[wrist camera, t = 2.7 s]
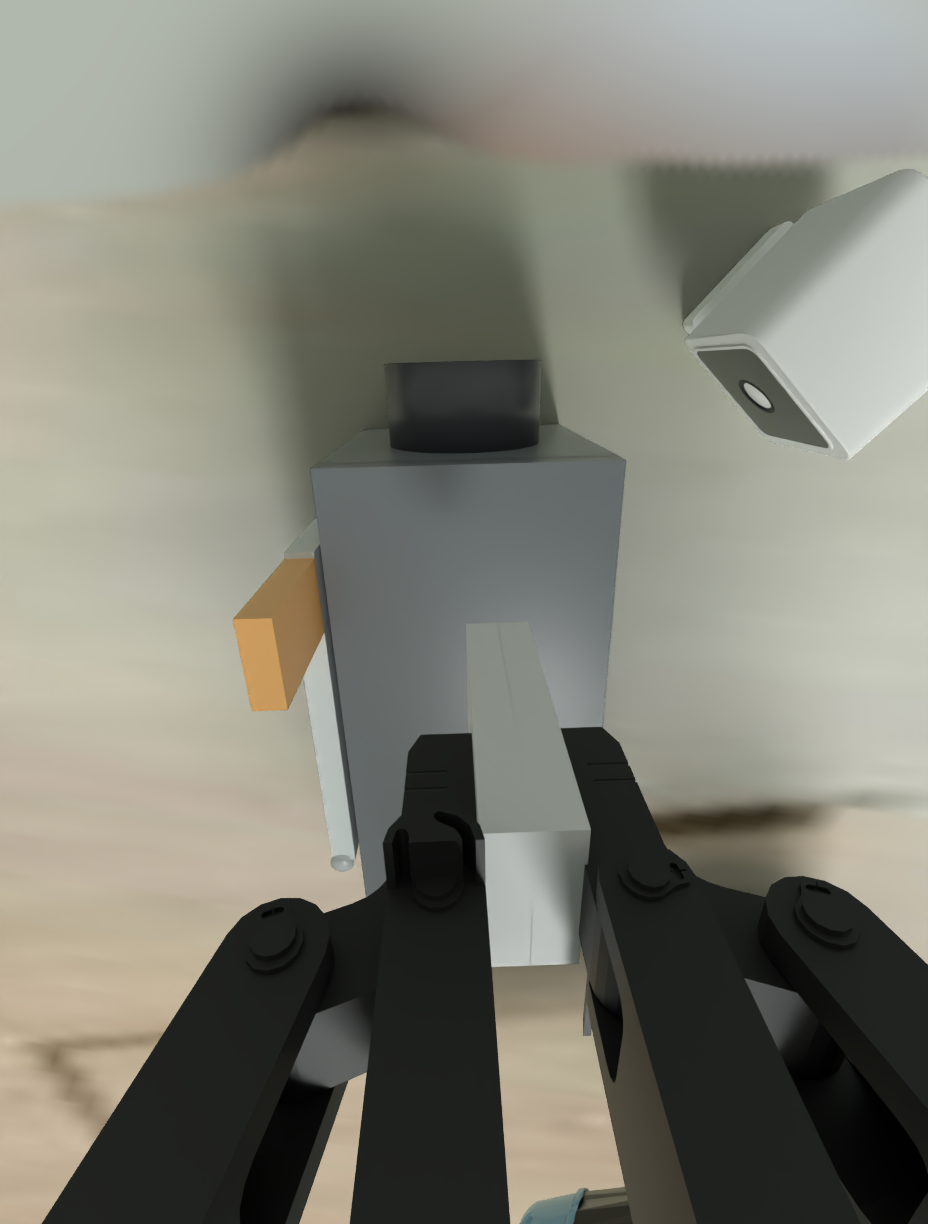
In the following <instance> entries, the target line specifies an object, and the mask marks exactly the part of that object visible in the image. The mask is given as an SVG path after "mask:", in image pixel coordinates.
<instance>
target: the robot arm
mask: <svg viewBox="0 0 928 1224" xmlns="http://www.w3.org/2000/svg"><path fill="white" fill-rule="evenodd" d="M466 647H467V687H468V723H469V733H455V734H426V735H420V736H419V738H418V739H417V740H416V742H415V743H414V745H413V746H412V747H411V749H410V750H409V751H408V758H407V767H406V777H405V787H404V796H403V806H402V815H401V816H400V817H399V818H398V819H397V820H396V821H395V822H394V823H393V824H392V825H391V826H390V827H389V828H388V830H387V833H386V836H385V838H384V841H383V843H382V844H383V853H384V862H385V871H386V881H385V882H384V883H383V884H382V885H381V886H380V888H379V889H377V890H376V891H374V892H373V893H372V894H370V895H369V896H367V897H366V898H364V899H361V900H359V901H357V902H355V903H353V904H350V905H347V906H344V907H341V908H338V909H335V910H332V911H329V912H326V913H323V912H322V911H321V910H320V909H319V907H318V906H317V905H316V904H313V903H311V902H309V901H306V900H304V899H301V898H280V899H277V900H274V901H271V902H268V903H265V904H262V905H260V906H258V907H257V908H255V909H254V910H252V911H251V912H249V913H248V914H246V915H245V916H243V917H242V918H241V919H240V920H239V921H238V922H237V924H236V925H235V926H234V927H233V928H232V929H231V930H230V932H229V933H228V934H227V935H226V937H225V938H224V940H223V942H222V943H221V945H220V946H219V948H218V949H217V951H216V953H215V954H214V956H213V957H212V959H211V960H210V962H209V963H208V965H207V967H206V968H205V970H204V971H203V973H202V974H201V976H200V977H199V979H198V981H197V982H196V984H195V985H194V987H193V988H192V990H191V992H190V993H189V995H188V996H187V998H186V999H185V1001H184V1002H183V1004H182V1006H181V1007H180V1009H179V1010H178V1012H177V1013H176V1015H175V1017H174V1018H173V1020H172V1021H171V1023H170V1024H169V1026H168V1027H167V1029H166V1031H165V1032H164V1034H163V1035H162V1037H161V1038H160V1040H159V1041H158V1043H157V1045H156V1046H155V1048H154V1049H153V1051H152V1052H151V1054H150V1056H149V1057H148V1059H147V1060H146V1062H145V1063H144V1065H143V1066H142V1068H141V1070H140V1071H139V1073H138V1074H137V1076H136V1077H135V1079H134V1081H133V1082H132V1084H131V1085H130V1087H129V1088H128V1090H127V1091H126V1093H125V1095H124V1096H123V1098H122V1099H121V1101H120V1102H119V1104H118V1105H117V1107H116V1109H115V1110H114V1112H113V1113H112V1115H111V1116H110V1118H109V1120H108V1121H107V1123H106V1124H105V1126H104V1127H103V1129H102V1130H101V1132H100V1134H99V1135H98V1137H97V1138H96V1140H95V1141H94V1143H93V1145H92V1146H91V1148H90V1149H89V1151H88V1152H87V1154H86V1155H85V1157H84V1159H83V1160H82V1162H81V1163H80V1165H79V1166H78V1168H77V1169H76V1171H75V1173H74V1174H73V1176H72V1177H71V1179H70V1180H69V1182H68V1184H67V1185H66V1187H65V1188H64V1190H63V1191H62V1193H61V1194H60V1196H59V1198H58V1199H57V1201H56V1202H55V1204H54V1205H53V1207H52V1209H51V1210H50V1212H49V1213H48V1215H47V1216H46V1218H45V1219H44V1221H43V1223H42V1224H299V1222H300V1219H301V1217H302V1214H303V1211H304V1208H305V1205H306V1202H307V1199H308V1196H309V1193H310V1190H311V1187H312V1185H313V1182H314V1179H315V1176H316V1173H317V1170H318V1167H319V1164H320V1161H321V1158H322V1156H323V1153H324V1150H325V1147H326V1144H327V1141H328V1138H329V1135H330V1132H331V1129H332V1127H333V1124H334V1121H335V1118H336V1115H337V1112H338V1109H339V1106H340V1103H341V1100H342V1097H343V1095H344V1092H345V1089H346V1086H347V1083H348V1080H350V1079H352V1078H354V1077H357V1076H359V1075H361V1074H364V1073H366V1072H367V1076H366V1085H365V1093H364V1102H363V1111H362V1120H361V1129H360V1138H359V1147H358V1155H357V1164H356V1173H355V1182H354V1191H353V1200H352V1209H351V1217H350V1224H510V1215H509V1201H508V1187H507V1173H506V1159H505V1146H504V1132H503V1118H502V1104H501V1091H500V1077H499V1063H498V1049H497V1036H496V1022H495V1008H494V994H493V980H492V967H508V966H534V965H559V964H579V957H580V946H582V951H583V955H584V960H585V964H586V969H587V973H588V974H587V984H586V994H585V1004H584V1014H583V1036H591V1029H592V1032H593V1036H594V1041H595V1046H596V1051H597V1055H598V1060H599V1065H600V1070H601V1074H602V1079H603V1084H604V1089H605V1093H606V1098H607V1103H608V1108H609V1112H610V1117H611V1122H612V1127H613V1131H614V1136H615V1141H616V1146H617V1150H618V1155H619V1160H620V1165H621V1169H622V1174H623V1179H624V1184H625V1187H620V1188H612V1189H604V1190H594V1191H589V1189H588V1188H581V1189H579V1190H578V1191H577V1192H576V1193H574V1194H569V1195H565V1196H560V1197H556V1198H551V1199H547V1200H542V1201H538V1202H536V1203H535V1204H533V1205H532V1206H531V1207H530V1208H529V1209H528V1210H527V1211H526V1212H525V1214H524V1216H523V1218H522V1220H521V1222H520V1224H928V965H927V964H926V963H925V962H924V961H923V960H922V959H921V958H920V957H919V956H918V955H917V954H916V953H915V952H914V951H913V950H912V949H911V948H910V947H909V946H908V945H907V944H905V943H904V942H903V941H902V940H901V939H900V938H899V937H898V936H897V935H896V934H895V933H894V932H893V931H892V930H891V929H890V928H889V927H888V926H887V925H886V924H885V923H884V922H882V921H881V920H880V919H879V918H878V917H877V916H876V915H875V914H874V913H873V912H872V911H871V910H870V909H869V908H868V907H867V906H865V905H864V904H863V903H861V902H860V901H859V900H857V899H856V898H855V897H854V896H852V895H851V894H850V893H848V892H847V891H845V890H843V889H840V888H838V887H836V886H834V885H832V884H830V883H828V882H826V881H822V880H818V879H814V878H809V877H805V876H798V877H784V878H783V879H781V880H779V881H777V882H776V883H774V884H772V885H771V887H770V889H769V891H768V893H767V896H766V897H762V896H758V895H754V894H749V893H745V892H741V891H737V890H732V889H728V888H724V887H721V886H718V885H715V884H712V883H709V882H707V881H705V880H703V879H701V878H699V877H697V876H695V874H694V873H693V871H692V870H691V869H690V867H689V866H688V864H687V863H686V862H685V861H684V860H682V859H681V858H680V857H678V856H677V855H676V854H674V853H673V852H672V851H671V850H668V849H667V848H666V846H665V845H664V843H663V840H662V838H661V836H660V834H659V831H658V829H657V827H656V825H655V822H654V820H653V818H652V816H651V813H650V811H649V809H648V807H647V804H646V802H645V800H644V798H643V795H642V793H641V791H640V788H639V786H638V784H637V782H635V777H634V775H633V773H632V770H631V768H630V766H628V761H627V759H626V757H625V755H624V752H623V750H622V748H621V746H620V743H619V742H618V741H617V740H616V739H614V738H613V737H612V736H611V735H610V734H609V733H608V732H607V731H606V730H604V729H603V728H602V727H578V728H560V725H559V722H558V719H557V715H556V712H555V709H554V705H553V702H552V699H551V695H550V692H549V689H548V686H547V682H546V679H545V676H544V672H543V669H542V666H541V662H540V659H539V656H538V652H537V649H536V646H535V642H534V639H533V636H532V632H531V629H530V626H529V622H505V623H473V624H466Z"/></svg>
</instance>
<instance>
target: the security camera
mask: <svg viewBox="0 0 928 1224" xmlns="http://www.w3.org/2000/svg"><path fill="white" fill-rule="evenodd" d="M683 327H684V329H685V330H686V331H687V333H688V334H689V335H688V336H687V337H686V339H685V344H686V346H687V348H688V349H689V351H690V352H691V353H692V354H693V356H694V357H695V358H696V359H697V360H698V361H699V363H700V364H701V365H702V366H703V367H704V369H705V370H706V371H707V372H708V373H709V374H710V376H711V377H712V378H713V379H714V380H715V381H716V383H717V384H718V385H719V386H720V387H721V389H722V390H723V391H724V392H725V393H726V394H727V396H728V397H729V398H730V399H731V400H732V402H733V403H734V404H735V405H736V406H737V407H738V409H739V410H740V411H741V412H742V413H743V414H744V416H745V417H746V418H747V419H748V420H749V422H750V423H751V424H752V425H753V426H754V427H755V429H756V430H757V431H758V432H759V433H760V434H761V435H762V436H763V437H765V438H766V439H767V440H769V441H771V442H773V443H775V444H779V445H783V446H788V447H792V448H796V449H800V450H804V451H808V452H812V453H816V454H821V455H825V456H829V457H833V458H837V459H841V460H849V459H850V458H851V457H853V456H854V455H855V454H856V453H857V452H858V451H859V450H861V449H862V448H863V447H864V446H865V445H866V444H867V443H868V442H870V441H871V440H872V439H873V438H874V437H875V436H876V435H878V434H879V433H880V432H881V431H882V430H883V429H884V428H886V427H887V426H888V425H889V424H890V423H891V422H892V421H893V420H895V419H896V418H897V417H898V416H899V415H900V414H901V413H903V412H904V411H905V410H906V409H907V408H908V407H909V406H910V405H912V404H913V403H914V402H915V401H916V400H917V399H918V398H920V397H921V396H922V395H923V394H924V393H925V392H926V391H927V390H928V178H927V177H926V176H925V175H924V174H922V173H921V172H919V171H916V170H914V169H902V170H899V171H896V172H894V173H892V174H889V175H887V176H885V177H883V178H880V179H878V180H876V181H873V182H871V183H869V184H866V185H864V186H862V187H859V188H857V189H855V190H853V191H850V192H848V193H846V194H843V195H841V196H839V197H836V198H834V199H832V200H829V201H827V202H825V203H823V204H820V205H818V206H816V207H813V208H811V209H809V210H808V211H806V212H805V213H804V214H803V215H802V216H801V217H800V219H799V220H798V221H797V222H796V223H795V224H793V223H792V222H791V221H787V222H784V223H782V224H780V225H777V226H775V227H773V228H770V229H769V230H768V231H767V232H766V233H765V234H764V235H763V237H762V238H761V239H760V240H759V241H758V242H757V243H756V244H755V245H754V246H753V247H752V248H751V249H750V250H749V251H748V253H747V254H746V255H745V256H744V257H743V258H742V259H741V260H740V261H739V262H738V263H737V264H736V265H735V266H734V267H733V269H732V270H731V271H730V272H729V273H728V274H727V275H726V276H725V277H724V278H723V279H722V280H721V281H720V282H719V283H718V284H717V286H716V287H715V288H714V289H713V290H712V291H711V292H710V293H709V294H708V295H707V296H706V297H705V298H704V299H703V300H702V302H701V303H700V304H699V305H698V306H697V307H696V308H695V309H694V310H693V311H692V312H691V313H690V314H689V315H688V316H687V317H686V319H685V320H684V322H683Z"/></svg>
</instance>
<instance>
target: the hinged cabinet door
mask: <svg viewBox="0 0 928 1224" xmlns="http://www.w3.org/2000/svg"><path fill="white" fill-rule="evenodd" d="M284 557H285V559H284V560H283V562H282V563H281V564H280V565H279V566H278V567H277V569H276V570H275V571H274V572H273V573H272V574H271V576H270V577H269V578H268V579H267V580H266V581H265V583H264V584H263V585H262V586H261V587H260V588H259V589H258V591H257V592H256V593H255V594H254V595H253V596H252V598H251V599H250V600H249V601H248V602H247V603H246V605H245V606H244V607H243V608H242V609H241V610H240V612H239V613H238V614H237V615H236V616H235V617H234V619H233V623H234V628H235V633H236V637H237V642H238V647H239V652H240V657H241V662H242V667H243V671H244V676H245V681H246V686H247V691H248V696H249V701H250V705H251V710H252V711H270V710H288V708H289V706H290V704H291V702H292V700H293V698H294V696H295V693H296V691H297V689H298V687H299V685H300V683H301V681H302V679H303V677H304V683H305V690H306V696H307V702H308V709H309V715H310V721H311V728H312V734H313V740H314V747H315V753H316V759H317V766H318V772H319V778H320V785H321V791H322V797H323V804H324V810H325V816H326V823H327V829H328V835H329V842H330V848H331V854H332V858H331V866H332V867H333V868H334V869H335V870H337V871H341V872H344V871H348V870H350V869H351V868H352V867H353V865H354V860H355V859H356V853H357V848H358V843H359V839H358V832H357V824H356V816H355V809H354V801H353V793H352V786H351V778H350V770H349V763H348V755H347V748H346V740H345V732H344V725H343V717H342V709H341V702H340V694H339V686H338V679H337V671H336V663H335V656H334V648H333V640H332V633H331V625H330V617H329V610H328V602H327V594H326V587H325V579H324V572H323V564H322V556H321V549H320V541H319V533H318V526H317V518H315V519H314V520H313V521H312V522H311V523H310V525H309V526H308V527H307V528H306V529H305V530H304V531H303V532H302V534H301V535H300V536H299V537H298V538H297V539H296V540H295V541H294V543H293V544H292V545H291V546H290V547H289V548H288V549H287V550H286V551H285V553H284Z"/></svg>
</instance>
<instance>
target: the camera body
mask: <svg viewBox="0 0 928 1224" xmlns="http://www.w3.org/2000/svg"><path fill="white" fill-rule="evenodd" d="M384 369H385V382H386V396H387V409H388V423H389V429H371V430H363V431H361V432H360V433H359V434H357V435H356V436H354V437H353V438H352V439H350V440H349V441H348V442H346V443H345V444H343V445H342V446H341V447H339V448H338V449H337V450H335V451H334V452H333V453H331V454H330V455H328V456H327V457H326V458H324V459H323V460H322V461H320V462H319V463H317V464H316V465H315V466H313V467H312V468H311V469H310V472H311V480H312V487H313V495H314V503H315V510H316V518H317V526H318V533H319V541H320V549H321V556H322V564H323V572H324V579H325V587H326V594H327V602H328V610H329V617H330V625H331V633H332V640H333V648H334V656H335V663H336V671H337V679H338V686H339V694H340V702H341V709H342V717H343V725H344V732H345V740H346V748H347V755H348V763H349V770H350V778H351V786H352V793H353V801H354V809H355V816H356V824H357V832H358V839H359V847H360V855H361V862H362V870H363V878H364V885H365V893H366V897H367V896H369V895H370V894H372V893H373V892H374V891H376V890H377V889H379V888H380V886H381V885H382V884H383V883H384V882H385V881H386V871H385V862H384V853H383V844H382V843H383V841H384V838H385V836H386V833H387V830H388V828H389V827H390V826H391V825H392V824H393V823H394V822H395V821H396V820H397V819H398V818H399V817H400V816H401V815H402V806H403V796H404V787H405V777H406V767H407V758H408V751H409V750H410V749H411V747H412V746H413V745H414V743H415V742H416V740H417V739H418V738H419V736H420V735H426V734H455V733H469V723H468V687H467V647H466V624H473V623H505V622H529V626H530V629H531V632H532V636H533V639H534V642H535V646H536V649H537V652H538V656H539V659H540V662H541V666H542V669H543V672H544V676H545V679H546V682H547V686H548V689H549V692H550V695H551V699H552V702H553V705H554V709H555V712H556V715H557V719H558V722H559V725H560V728H578V727H602V728H603V716H604V705H605V694H606V682H607V671H608V660H609V648H610V637H611V626H612V614H613V603H614V591H615V580H616V569H617V557H618V546H619V535H620V523H621V512H622V501H623V489H624V478H625V467H626V460H625V459H623V458H621V457H620V456H618V455H616V454H614V453H612V452H610V451H608V450H607V449H605V448H603V447H601V446H599V445H597V444H595V443H593V442H592V441H590V440H588V439H586V438H584V437H582V436H580V435H578V434H577V433H575V432H573V431H571V430H569V429H567V428H565V427H563V426H562V425H560V424H552V425H540V395H541V360H497V361H457V362H422V363H392V364H384Z"/></svg>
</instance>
